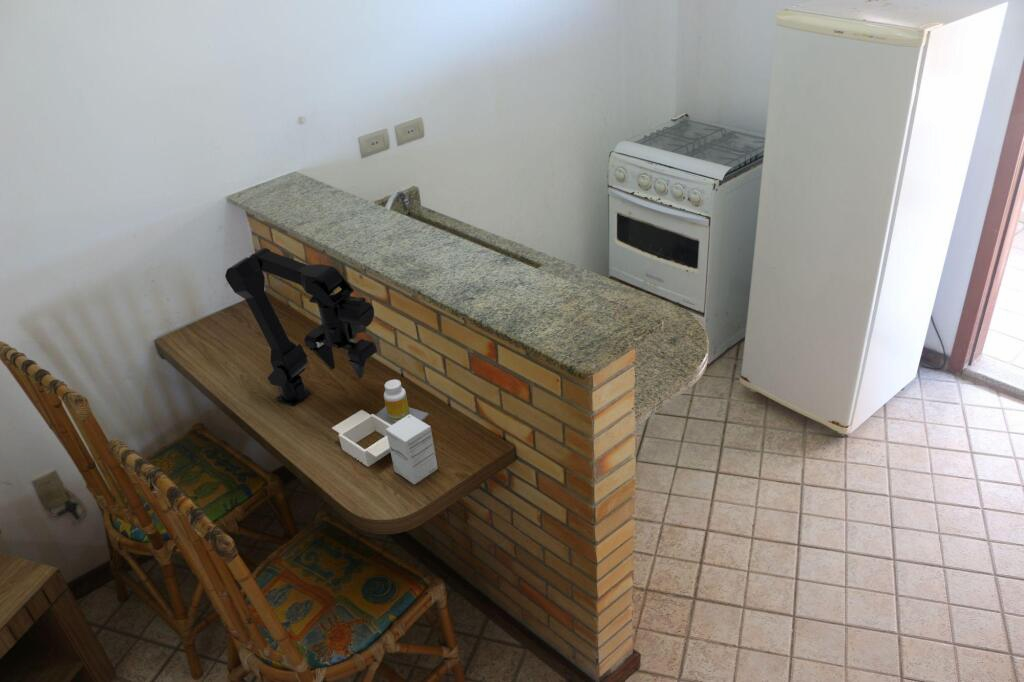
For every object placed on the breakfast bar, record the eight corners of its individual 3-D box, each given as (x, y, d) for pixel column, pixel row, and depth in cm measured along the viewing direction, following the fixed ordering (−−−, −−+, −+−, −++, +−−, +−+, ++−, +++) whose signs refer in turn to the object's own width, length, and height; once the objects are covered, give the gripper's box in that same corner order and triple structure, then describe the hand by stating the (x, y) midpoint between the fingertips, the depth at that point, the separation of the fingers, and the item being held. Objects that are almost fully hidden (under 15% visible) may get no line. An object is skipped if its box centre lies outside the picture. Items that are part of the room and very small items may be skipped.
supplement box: (393, 472, 192) (384, 428, 185) (418, 455, 196) (410, 412, 189) (414, 486, 187) (404, 441, 180) (439, 469, 191) (431, 425, 184)
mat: (371, 420, 209) (371, 418, 209) (391, 403, 215) (391, 401, 214) (409, 433, 203) (408, 431, 203) (428, 415, 209) (428, 413, 208)
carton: (333, 443, 203) (329, 429, 200) (367, 423, 208) (363, 408, 206) (377, 473, 192) (373, 458, 189) (411, 450, 198) (408, 435, 195)
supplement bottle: (411, 420, 207) (404, 388, 202) (389, 424, 206) (382, 392, 201) (408, 407, 211) (402, 375, 206) (387, 411, 211) (380, 380, 205)
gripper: (385, 310, 199) (396, 365, 207) (328, 295, 208) (340, 348, 217) (354, 333, 191) (367, 389, 200) (296, 316, 201) (310, 370, 209)
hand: (346, 373), depth 206 cm, fingers open, 9 cm apart
